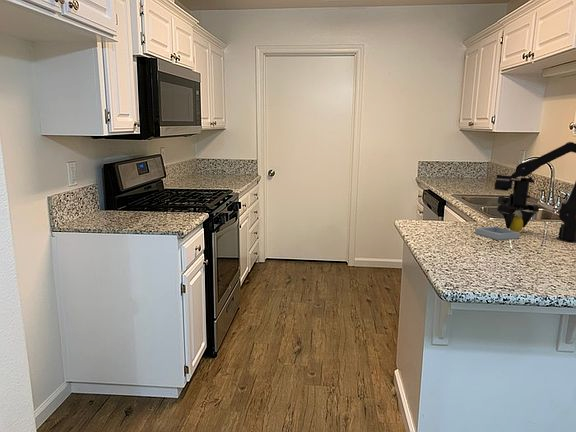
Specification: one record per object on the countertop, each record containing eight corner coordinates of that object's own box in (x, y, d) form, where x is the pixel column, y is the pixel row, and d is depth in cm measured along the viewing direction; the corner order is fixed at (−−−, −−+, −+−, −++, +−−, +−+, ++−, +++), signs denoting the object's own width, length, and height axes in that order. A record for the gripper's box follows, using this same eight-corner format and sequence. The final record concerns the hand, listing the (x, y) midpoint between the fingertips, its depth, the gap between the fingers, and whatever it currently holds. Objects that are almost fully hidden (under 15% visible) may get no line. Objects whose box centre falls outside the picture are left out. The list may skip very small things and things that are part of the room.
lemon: (523, 235, 191) (526, 216, 190) (509, 234, 192) (512, 216, 191) (519, 232, 197) (522, 214, 195) (506, 231, 198) (508, 213, 196)
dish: (519, 238, 184) (519, 232, 184) (497, 240, 180) (498, 234, 179) (495, 232, 195) (496, 226, 195) (474, 233, 190) (475, 228, 190)
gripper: (519, 189, 202) (515, 223, 205) (489, 190, 194) (484, 225, 197) (542, 192, 192) (536, 228, 195) (510, 193, 184) (506, 230, 187)
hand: (515, 227), depth 194 cm, fingers open, 9 cm apart
